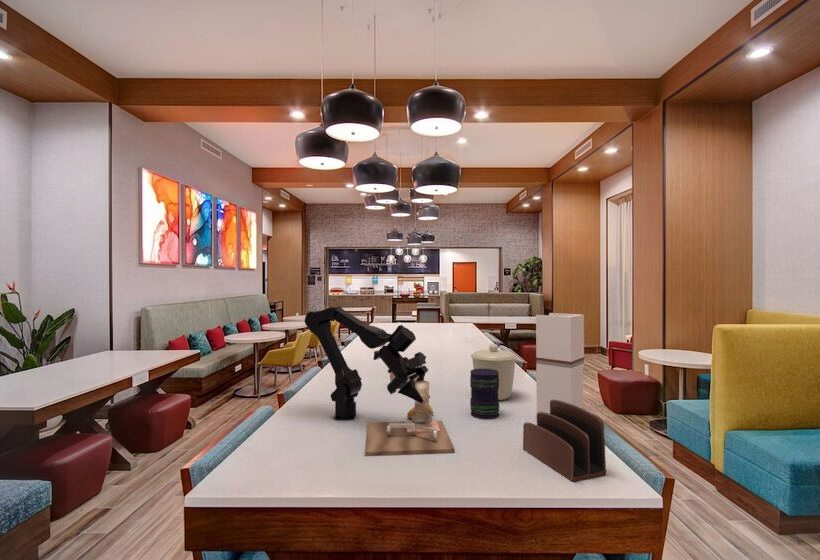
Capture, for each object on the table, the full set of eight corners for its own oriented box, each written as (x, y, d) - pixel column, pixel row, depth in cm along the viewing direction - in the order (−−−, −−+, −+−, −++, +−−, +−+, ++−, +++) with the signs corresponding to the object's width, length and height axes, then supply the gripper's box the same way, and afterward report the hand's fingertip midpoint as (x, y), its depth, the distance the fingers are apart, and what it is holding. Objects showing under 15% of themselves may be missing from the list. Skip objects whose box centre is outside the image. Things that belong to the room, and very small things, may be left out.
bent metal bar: (386, 436, 122) (386, 424, 122) (391, 432, 125) (390, 420, 125) (436, 442, 117) (436, 430, 117) (440, 438, 120) (439, 425, 120)
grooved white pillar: (584, 421, 136) (583, 314, 136) (571, 430, 129) (570, 316, 129) (550, 414, 144) (550, 312, 144) (536, 422, 136) (536, 314, 136)
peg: (418, 425, 125) (418, 385, 125) (407, 419, 131) (407, 381, 131) (436, 422, 128) (436, 383, 128) (425, 416, 134) (425, 378, 134)
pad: (407, 433, 124) (407, 431, 124) (405, 422, 134) (405, 420, 134) (440, 432, 125) (440, 430, 125) (436, 421, 135) (436, 419, 135)
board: (365, 455, 111) (365, 452, 111) (367, 425, 134) (367, 422, 134) (454, 452, 113) (454, 449, 113) (441, 423, 136) (441, 420, 136)
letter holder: (552, 445, 118) (552, 395, 118) (606, 476, 99) (606, 416, 99) (522, 450, 115) (521, 398, 115) (572, 483, 96) (571, 421, 96)
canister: (523, 395, 169) (523, 342, 169) (508, 406, 153) (507, 349, 153) (481, 389, 178) (481, 339, 178) (463, 399, 163) (463, 345, 163)
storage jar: (481, 421, 138) (481, 375, 138) (464, 413, 146) (464, 370, 146) (505, 416, 142) (505, 372, 142) (487, 408, 151) (487, 367, 151)
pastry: (416, 422, 137) (416, 410, 137) (402, 418, 142) (402, 406, 142) (435, 415, 144) (435, 404, 144) (420, 411, 149) (420, 401, 149)
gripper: (396, 349, 123) (430, 391, 118) (423, 340, 140) (454, 377, 135) (373, 373, 127) (405, 415, 122) (402, 362, 143) (431, 398, 138)
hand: (425, 400), depth 129 cm, fingers closed on peg, 4 cm apart
